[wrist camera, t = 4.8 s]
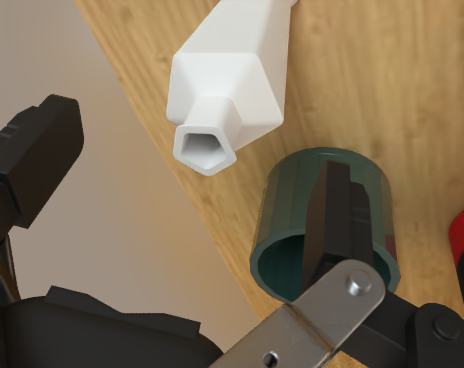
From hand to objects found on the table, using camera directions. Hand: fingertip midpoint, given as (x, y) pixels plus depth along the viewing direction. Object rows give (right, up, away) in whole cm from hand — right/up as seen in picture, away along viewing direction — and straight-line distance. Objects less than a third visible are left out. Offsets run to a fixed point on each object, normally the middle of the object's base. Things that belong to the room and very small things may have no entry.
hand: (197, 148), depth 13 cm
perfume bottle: (+3, +10, +11) cm, 15 cm away
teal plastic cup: (+10, -3, +22) cm, 24 cm away
